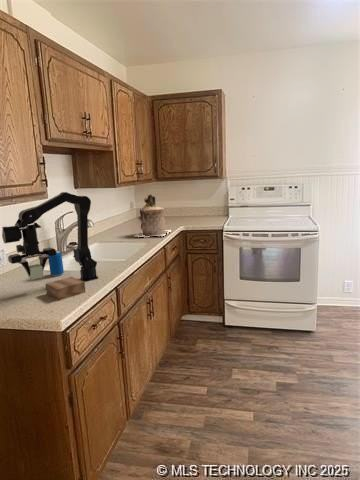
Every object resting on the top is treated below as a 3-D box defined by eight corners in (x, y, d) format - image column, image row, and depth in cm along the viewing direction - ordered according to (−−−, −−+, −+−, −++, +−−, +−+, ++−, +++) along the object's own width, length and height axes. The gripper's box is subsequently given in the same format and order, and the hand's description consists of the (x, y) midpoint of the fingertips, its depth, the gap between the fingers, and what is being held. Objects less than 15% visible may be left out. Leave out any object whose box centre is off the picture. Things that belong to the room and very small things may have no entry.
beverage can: (65, 272, 183) (62, 250, 180) (61, 276, 176) (58, 253, 174) (53, 273, 183) (50, 250, 180) (49, 277, 176) (45, 253, 174)
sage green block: (39, 274, 157) (38, 263, 156) (43, 276, 154) (42, 265, 153) (28, 277, 154) (26, 266, 153) (32, 279, 150) (30, 268, 149)
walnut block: (73, 287, 159) (71, 276, 158) (85, 293, 150) (84, 281, 149) (46, 294, 151) (45, 283, 150) (58, 301, 142) (57, 289, 141)
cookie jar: (172, 231, 283) (169, 192, 277) (164, 238, 260) (161, 194, 254) (143, 232, 289) (140, 193, 283) (132, 238, 266) (129, 196, 259)
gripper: (45, 234, 162) (50, 266, 166) (2, 241, 151) (7, 275, 154) (54, 236, 154) (59, 270, 157) (9, 244, 142) (15, 281, 145)
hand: (35, 274), depth 154 cm, fingers closed on sage green block, 5 cm apart
